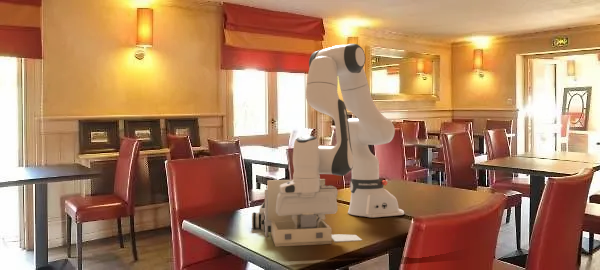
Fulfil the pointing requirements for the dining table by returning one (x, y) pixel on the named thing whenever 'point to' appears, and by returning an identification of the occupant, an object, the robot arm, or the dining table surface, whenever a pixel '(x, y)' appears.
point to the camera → (259, 219)
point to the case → (291, 222)
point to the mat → (345, 238)
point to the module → (307, 220)
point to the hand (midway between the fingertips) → (306, 228)
